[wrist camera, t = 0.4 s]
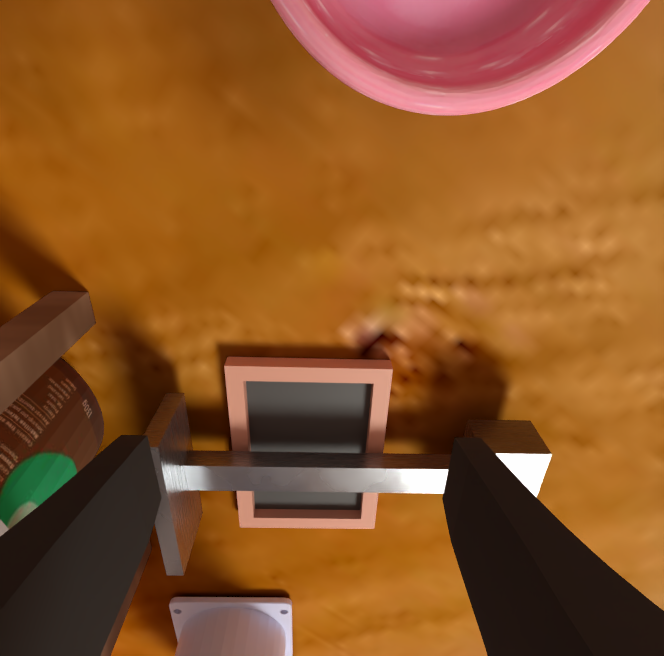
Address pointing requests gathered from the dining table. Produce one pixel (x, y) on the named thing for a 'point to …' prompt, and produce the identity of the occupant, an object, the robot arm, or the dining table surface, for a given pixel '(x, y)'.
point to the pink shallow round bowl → (454, 46)
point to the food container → (46, 440)
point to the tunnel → (40, 354)
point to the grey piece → (305, 471)
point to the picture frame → (307, 430)
